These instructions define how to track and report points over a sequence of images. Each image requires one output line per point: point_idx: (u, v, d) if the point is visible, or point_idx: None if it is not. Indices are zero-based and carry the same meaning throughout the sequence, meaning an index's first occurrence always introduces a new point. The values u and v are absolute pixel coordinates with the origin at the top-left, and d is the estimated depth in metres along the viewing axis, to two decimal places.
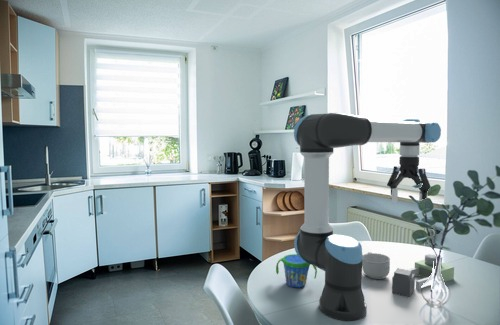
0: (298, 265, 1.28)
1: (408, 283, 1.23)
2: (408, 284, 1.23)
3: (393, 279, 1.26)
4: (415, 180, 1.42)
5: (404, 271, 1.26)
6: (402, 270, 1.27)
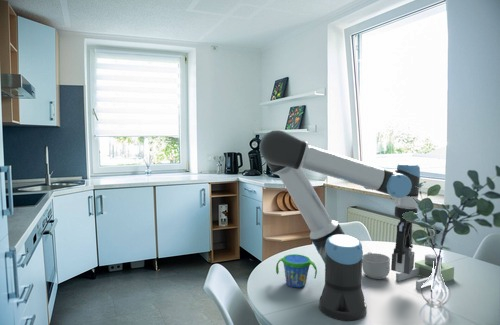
0: (298, 265, 1.28)
1: (408, 259, 1.22)
2: (408, 260, 1.22)
3: (393, 256, 1.25)
4: None
5: None
6: None
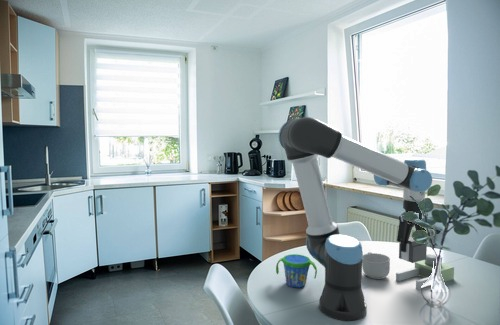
0: (298, 265, 1.28)
1: (412, 248, 1.29)
2: (411, 250, 1.29)
3: (400, 245, 1.34)
4: None
5: (412, 239, 1.32)
6: (411, 238, 1.33)
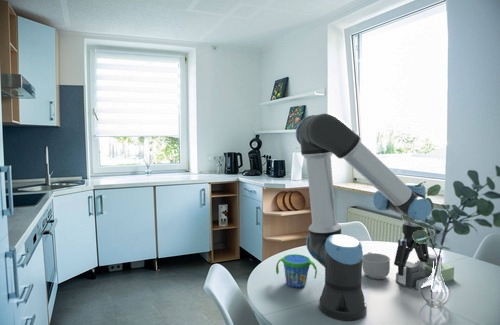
0: (298, 265, 1.28)
1: (410, 274, 1.30)
2: (410, 276, 1.30)
3: None
4: None
5: (410, 264, 1.33)
6: (410, 263, 1.34)
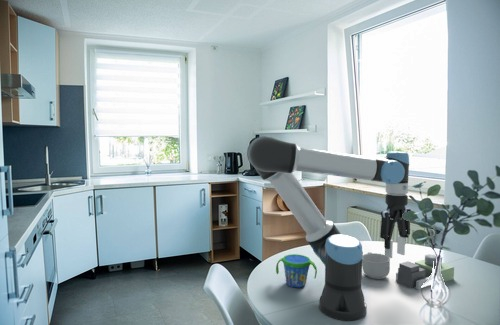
0: (298, 265, 1.28)
1: (410, 274, 1.30)
2: (410, 276, 1.30)
3: (398, 270, 1.34)
4: None
5: (410, 264, 1.33)
6: (410, 263, 1.34)
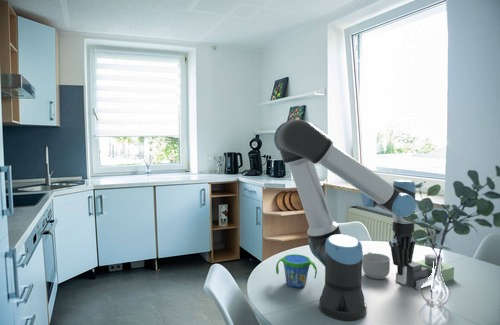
0: (298, 265, 1.28)
1: (413, 274, 1.31)
2: (412, 275, 1.31)
3: None
4: None
5: (413, 263, 1.34)
6: (412, 262, 1.35)
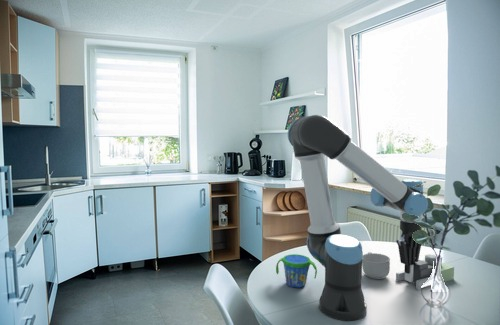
0: (298, 265, 1.28)
1: (419, 272, 1.32)
2: (419, 273, 1.33)
3: None
4: None
5: (419, 262, 1.36)
6: (419, 261, 1.37)
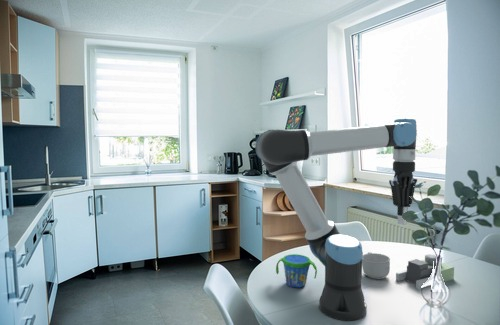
0: (298, 265, 1.28)
1: (419, 272, 1.32)
2: (419, 273, 1.33)
3: (407, 267, 1.37)
4: None
5: (419, 262, 1.36)
6: (418, 261, 1.37)
